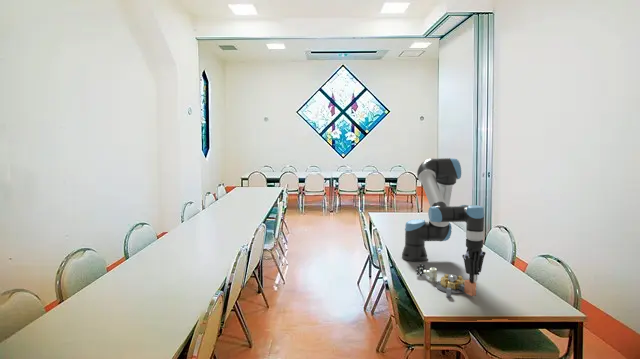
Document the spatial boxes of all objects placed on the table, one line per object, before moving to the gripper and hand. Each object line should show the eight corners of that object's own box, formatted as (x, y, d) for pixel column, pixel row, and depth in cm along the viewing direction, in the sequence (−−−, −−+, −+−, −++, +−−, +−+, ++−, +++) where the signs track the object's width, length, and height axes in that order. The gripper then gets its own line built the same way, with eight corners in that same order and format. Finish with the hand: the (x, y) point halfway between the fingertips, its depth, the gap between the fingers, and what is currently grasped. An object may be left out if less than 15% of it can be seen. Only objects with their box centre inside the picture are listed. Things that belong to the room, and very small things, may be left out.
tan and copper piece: (436, 282, 214) (436, 271, 214) (454, 279, 218) (454, 268, 218) (464, 297, 195) (464, 285, 195) (483, 293, 199) (483, 281, 199)
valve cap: (435, 280, 221) (435, 269, 220) (467, 283, 217) (468, 271, 216) (435, 292, 206) (436, 280, 205) (470, 295, 202) (471, 282, 201)
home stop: (446, 295, 201) (447, 287, 201) (451, 296, 201) (451, 288, 200) (446, 297, 200) (446, 288, 199) (450, 297, 199) (450, 289, 198)
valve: (440, 281, 220) (424, 274, 231) (440, 269, 220) (424, 262, 230) (430, 283, 217) (415, 276, 228) (431, 271, 216) (415, 264, 227)
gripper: (478, 235, 204) (476, 282, 207) (458, 239, 198) (457, 287, 201) (490, 238, 197) (489, 287, 200) (470, 242, 191) (469, 292, 194)
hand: (473, 287), depth 200 cm, fingers closed
